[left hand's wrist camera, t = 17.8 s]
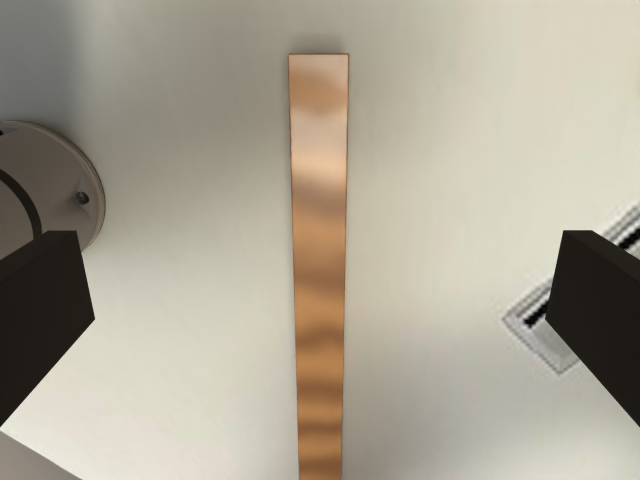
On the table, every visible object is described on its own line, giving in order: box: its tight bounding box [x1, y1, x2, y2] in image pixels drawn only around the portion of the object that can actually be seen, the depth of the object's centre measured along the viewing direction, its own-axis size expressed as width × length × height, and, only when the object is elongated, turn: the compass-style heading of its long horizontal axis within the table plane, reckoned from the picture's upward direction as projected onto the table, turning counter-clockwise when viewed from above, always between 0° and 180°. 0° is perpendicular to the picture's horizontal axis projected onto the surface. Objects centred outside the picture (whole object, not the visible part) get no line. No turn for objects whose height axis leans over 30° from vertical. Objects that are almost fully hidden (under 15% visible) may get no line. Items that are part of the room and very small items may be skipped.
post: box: [288, 54, 349, 480], centre depth 51 cm, size 64×5×8 cm, turn 0°
